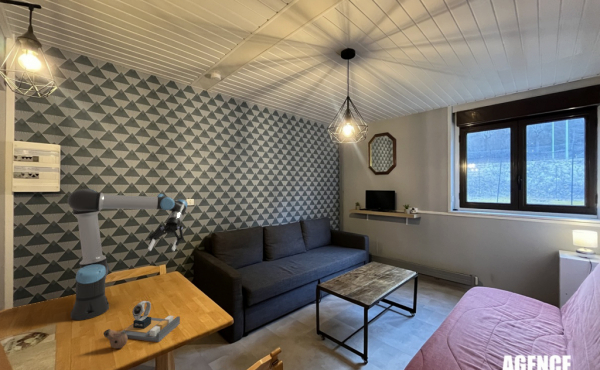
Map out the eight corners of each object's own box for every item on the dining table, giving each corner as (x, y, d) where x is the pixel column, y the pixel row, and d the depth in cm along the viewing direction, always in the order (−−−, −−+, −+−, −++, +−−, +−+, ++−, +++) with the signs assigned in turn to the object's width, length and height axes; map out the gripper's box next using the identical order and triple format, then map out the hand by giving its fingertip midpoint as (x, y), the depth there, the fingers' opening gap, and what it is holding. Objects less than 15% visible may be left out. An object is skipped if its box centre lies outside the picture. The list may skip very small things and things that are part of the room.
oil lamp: (100, 352, 97) (100, 332, 97) (106, 345, 101) (106, 326, 101) (124, 350, 99) (125, 330, 99) (129, 343, 103) (130, 324, 103)
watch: (129, 330, 109) (130, 305, 109) (143, 320, 117) (144, 297, 117) (140, 331, 108) (140, 307, 108) (154, 321, 116) (154, 298, 116)
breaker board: (118, 336, 107) (118, 327, 107) (143, 319, 121) (143, 311, 121) (158, 342, 104) (159, 332, 104) (179, 323, 118) (179, 315, 118)
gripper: (195, 224, 158) (184, 253, 143) (157, 223, 157) (142, 252, 142) (192, 217, 153) (180, 246, 138) (152, 216, 152) (136, 246, 137)
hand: (161, 250), depth 140 cm, fingers open, 13 cm apart
